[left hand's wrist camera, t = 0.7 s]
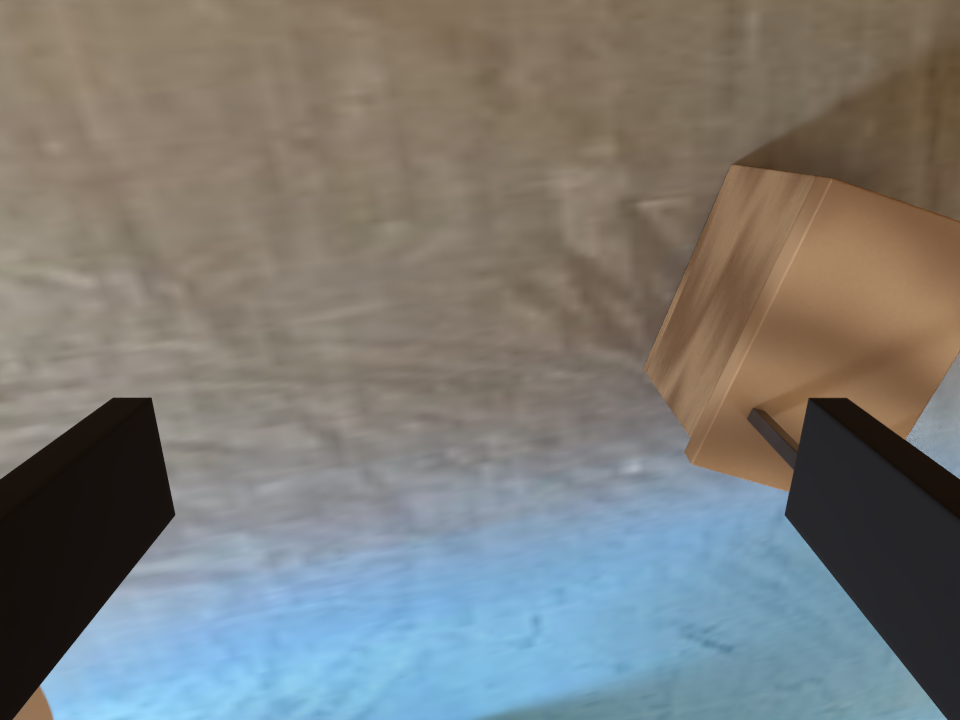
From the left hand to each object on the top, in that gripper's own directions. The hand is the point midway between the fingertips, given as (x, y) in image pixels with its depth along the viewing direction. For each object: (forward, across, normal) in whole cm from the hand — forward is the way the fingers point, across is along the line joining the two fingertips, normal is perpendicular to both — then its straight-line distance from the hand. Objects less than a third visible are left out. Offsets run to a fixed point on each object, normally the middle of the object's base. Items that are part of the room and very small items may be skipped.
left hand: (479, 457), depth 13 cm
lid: (+17, -17, +4) cm, 25 cm away
